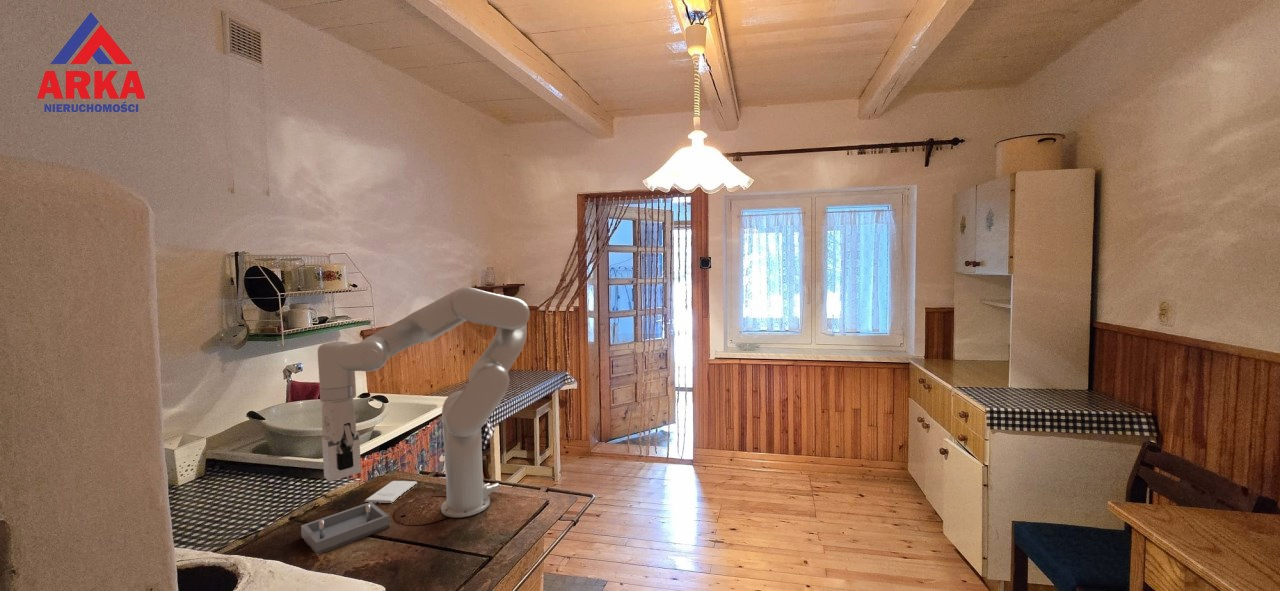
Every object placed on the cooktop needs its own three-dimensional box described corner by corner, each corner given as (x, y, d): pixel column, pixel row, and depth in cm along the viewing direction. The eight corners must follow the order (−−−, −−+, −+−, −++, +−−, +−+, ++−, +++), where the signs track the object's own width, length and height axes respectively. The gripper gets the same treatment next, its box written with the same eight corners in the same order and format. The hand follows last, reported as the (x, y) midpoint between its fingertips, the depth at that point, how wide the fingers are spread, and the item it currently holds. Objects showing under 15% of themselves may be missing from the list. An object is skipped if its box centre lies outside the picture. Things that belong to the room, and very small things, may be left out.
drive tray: (371, 512, 134) (370, 494, 134) (389, 527, 126) (388, 508, 126) (301, 537, 122) (300, 517, 122) (316, 555, 114) (315, 534, 114)
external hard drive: (417, 486, 151) (391, 505, 139) (392, 485, 152) (364, 504, 140) (417, 481, 151) (391, 500, 139) (392, 480, 152) (364, 499, 140)
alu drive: (355, 468, 127) (353, 429, 127) (361, 472, 124) (359, 432, 124) (324, 477, 122) (321, 436, 121) (329, 481, 119) (327, 440, 119)
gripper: (310, 390, 125) (314, 462, 126) (332, 401, 114) (336, 480, 115) (343, 385, 130) (347, 453, 131) (367, 394, 119) (371, 469, 120)
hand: (342, 465), depth 123 cm, fingers closed on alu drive, 4 cm apart
